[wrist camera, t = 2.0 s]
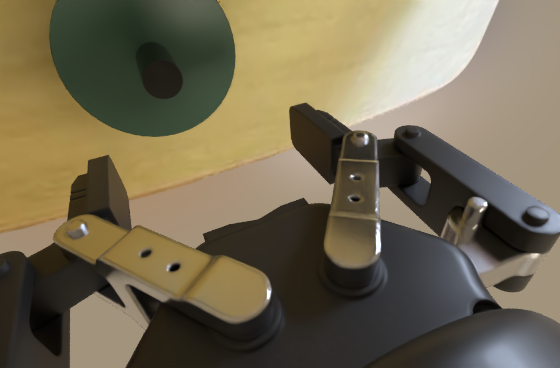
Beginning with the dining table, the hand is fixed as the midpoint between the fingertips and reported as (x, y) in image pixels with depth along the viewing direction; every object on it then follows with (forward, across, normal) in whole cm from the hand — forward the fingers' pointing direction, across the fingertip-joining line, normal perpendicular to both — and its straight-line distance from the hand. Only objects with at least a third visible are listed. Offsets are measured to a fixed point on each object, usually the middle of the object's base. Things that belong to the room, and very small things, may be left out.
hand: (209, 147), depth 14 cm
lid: (+14, +1, -1) cm, 14 cm away
